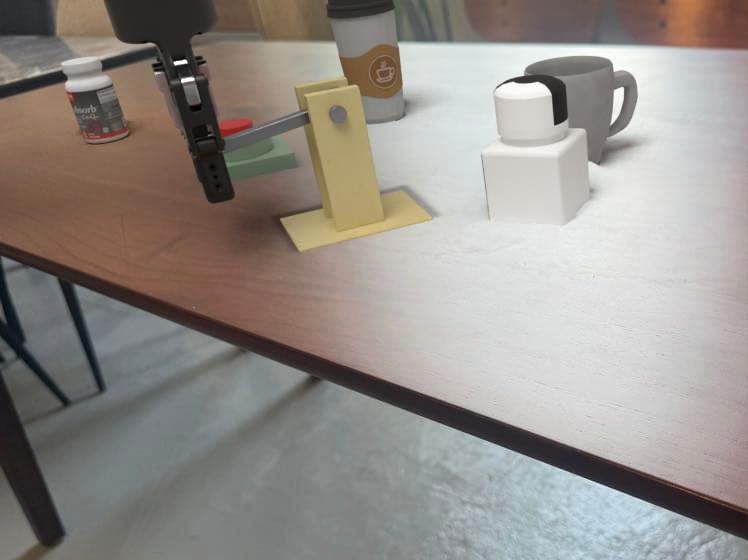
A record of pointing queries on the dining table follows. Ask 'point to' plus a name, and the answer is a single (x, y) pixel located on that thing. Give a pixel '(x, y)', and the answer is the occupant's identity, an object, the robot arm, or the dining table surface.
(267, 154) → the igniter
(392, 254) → the dining table surface
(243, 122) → the button
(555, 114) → the medicine bottle
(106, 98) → the pill bottle
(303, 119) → the lever
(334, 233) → the lever bracket
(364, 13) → the coffee cup
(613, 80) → the mug
